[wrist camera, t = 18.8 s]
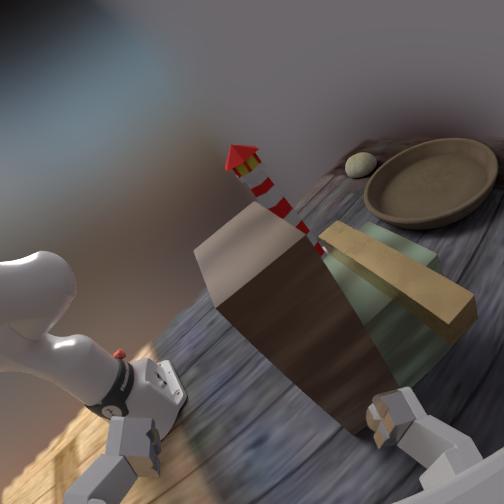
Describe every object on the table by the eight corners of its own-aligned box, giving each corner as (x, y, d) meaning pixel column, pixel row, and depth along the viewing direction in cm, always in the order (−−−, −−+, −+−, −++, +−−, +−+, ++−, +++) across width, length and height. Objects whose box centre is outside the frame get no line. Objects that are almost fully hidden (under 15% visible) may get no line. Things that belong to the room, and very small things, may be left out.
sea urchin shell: (367, 174, 76) (342, 157, 79) (360, 191, 83) (337, 175, 86) (383, 155, 78) (359, 139, 81) (376, 172, 86) (354, 157, 88)
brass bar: (329, 254, 38) (318, 236, 36) (348, 239, 38) (337, 220, 36) (453, 346, 20) (448, 324, 18) (477, 318, 20) (474, 294, 18)
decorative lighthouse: (295, 272, 68) (207, 156, 55) (329, 248, 67) (248, 127, 54) (310, 299, 59) (210, 166, 46) (349, 271, 58) (259, 131, 44)
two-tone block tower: (314, 379, 45) (193, 250, 33) (404, 301, 45) (326, 145, 33) (354, 435, 34) (215, 308, 22) (458, 340, 34) (400, 154, 22)
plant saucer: (453, 140, 67) (447, 124, 65) (529, 187, 41) (526, 166, 39) (356, 194, 77) (348, 179, 75) (400, 266, 51) (392, 247, 49)
